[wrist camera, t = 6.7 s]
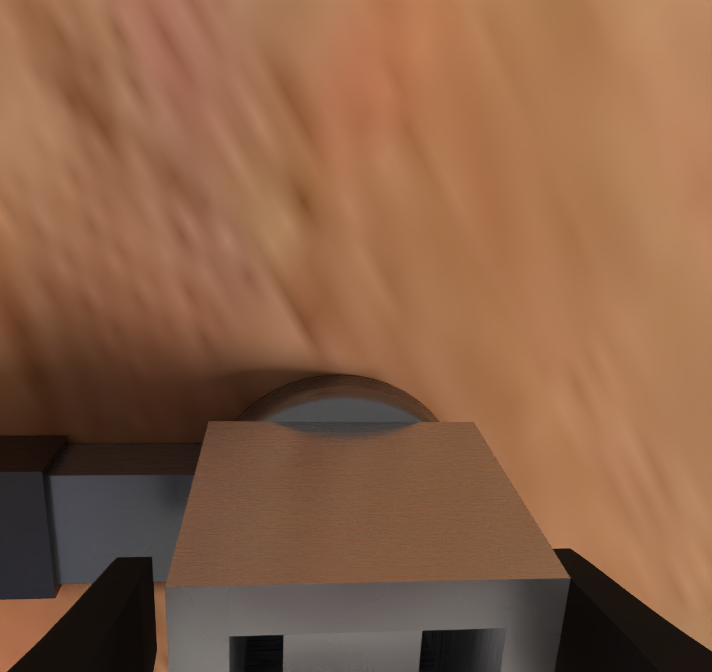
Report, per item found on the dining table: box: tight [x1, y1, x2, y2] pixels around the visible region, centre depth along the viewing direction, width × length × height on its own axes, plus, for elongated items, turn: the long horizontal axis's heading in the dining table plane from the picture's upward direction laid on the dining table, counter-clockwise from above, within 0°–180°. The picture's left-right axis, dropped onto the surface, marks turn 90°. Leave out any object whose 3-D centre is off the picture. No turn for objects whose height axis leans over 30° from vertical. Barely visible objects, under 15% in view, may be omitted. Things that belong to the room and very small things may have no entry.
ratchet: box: [0, 375, 439, 672], centre depth 13 cm, size 14×6×5 cm, turn 87°
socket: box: [165, 421, 570, 672], centre depth 12 cm, size 5×5×5 cm
